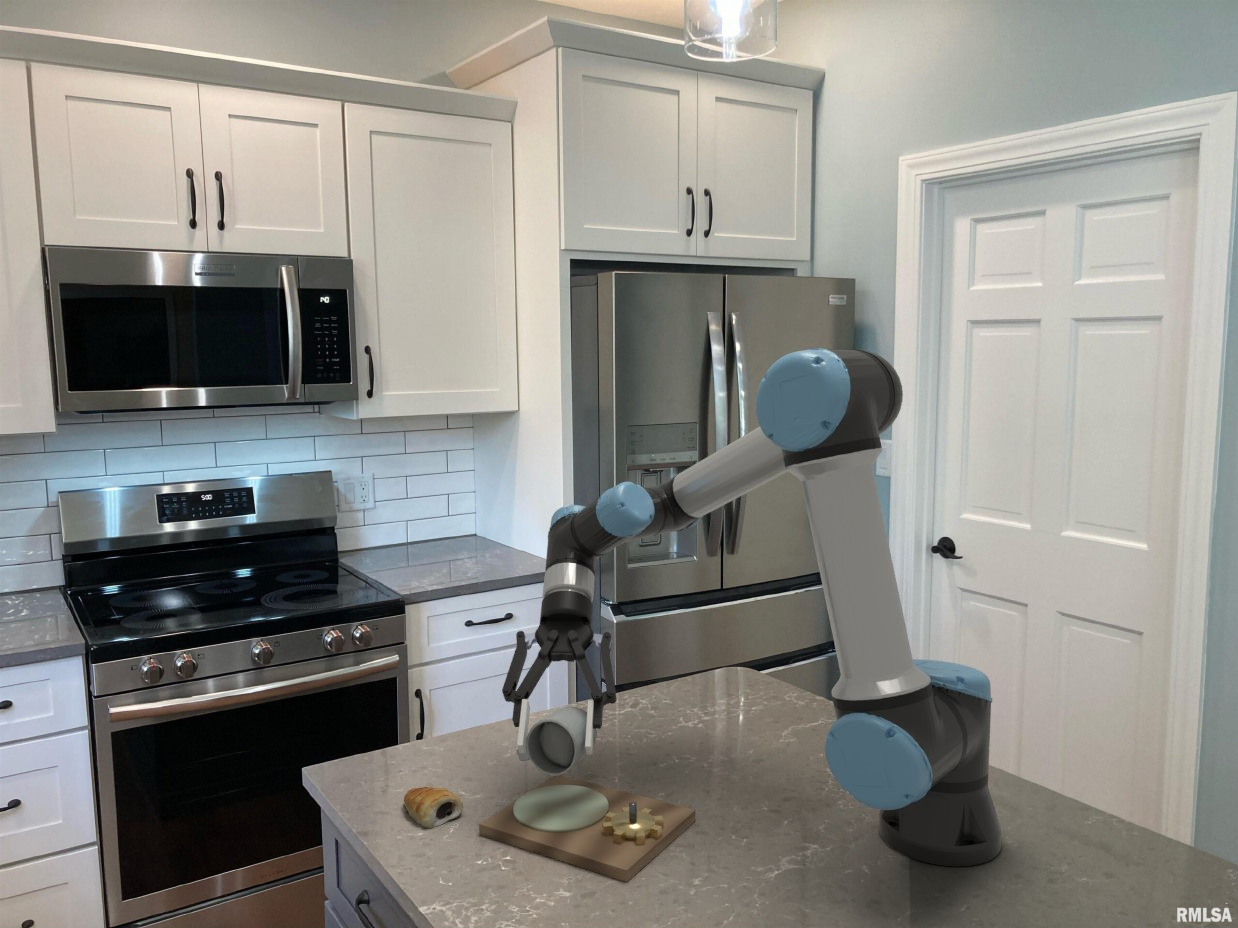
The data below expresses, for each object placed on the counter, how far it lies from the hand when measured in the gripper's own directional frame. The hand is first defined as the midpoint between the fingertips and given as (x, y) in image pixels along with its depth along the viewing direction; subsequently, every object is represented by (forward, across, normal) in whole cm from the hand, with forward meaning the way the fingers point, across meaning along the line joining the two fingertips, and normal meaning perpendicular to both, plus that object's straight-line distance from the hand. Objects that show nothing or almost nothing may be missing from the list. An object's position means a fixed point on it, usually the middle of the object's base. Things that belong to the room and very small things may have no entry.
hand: (554, 749), depth 126 cm
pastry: (+6, +18, -11) cm, 22 cm away
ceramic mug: (0, +1, -6) cm, 6 cm away
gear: (+9, -10, -5) cm, 14 cm away
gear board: (+7, -4, -9) cm, 12 cm away
